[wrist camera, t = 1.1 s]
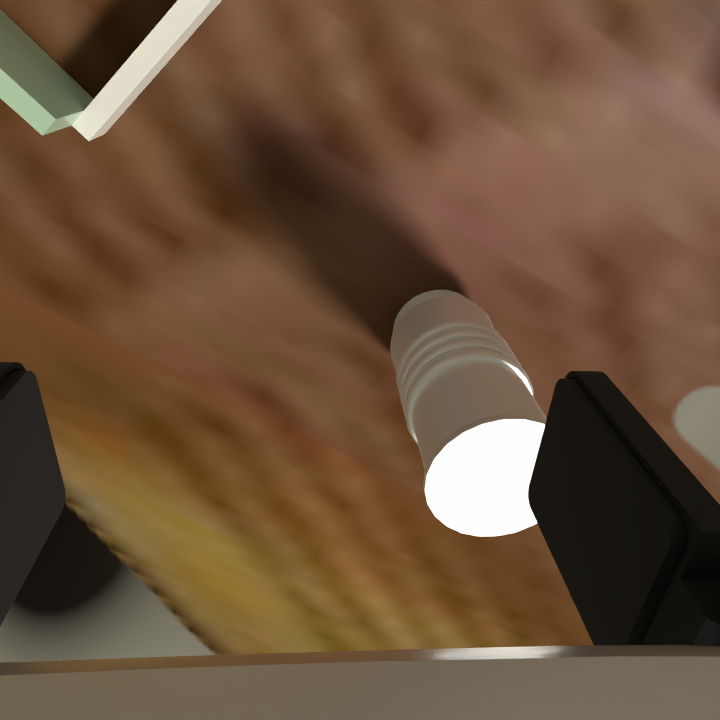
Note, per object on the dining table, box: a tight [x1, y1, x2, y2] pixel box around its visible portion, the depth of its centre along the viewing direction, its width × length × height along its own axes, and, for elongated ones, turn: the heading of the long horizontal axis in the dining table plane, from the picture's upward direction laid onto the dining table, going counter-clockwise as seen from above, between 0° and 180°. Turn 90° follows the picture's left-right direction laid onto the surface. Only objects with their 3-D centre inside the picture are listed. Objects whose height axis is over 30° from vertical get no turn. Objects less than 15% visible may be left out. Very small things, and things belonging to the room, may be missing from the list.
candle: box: [390, 290, 547, 536], centre depth 32 cm, size 7×7×15 cm
